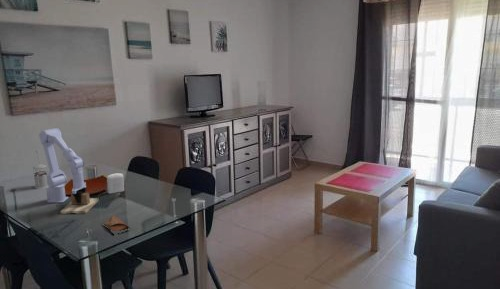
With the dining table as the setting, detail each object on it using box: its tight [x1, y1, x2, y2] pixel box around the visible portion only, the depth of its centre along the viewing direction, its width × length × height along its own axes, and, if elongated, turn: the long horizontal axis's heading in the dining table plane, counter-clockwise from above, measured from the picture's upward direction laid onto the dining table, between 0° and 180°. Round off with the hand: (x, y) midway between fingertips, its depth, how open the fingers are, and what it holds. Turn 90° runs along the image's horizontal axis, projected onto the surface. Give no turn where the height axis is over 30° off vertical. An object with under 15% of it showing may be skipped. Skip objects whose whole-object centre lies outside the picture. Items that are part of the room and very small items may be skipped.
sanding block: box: [70, 192, 91, 205], centre depth 221 cm, size 9×4×6 cm, turn 91°
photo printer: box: [106, 172, 125, 194], centre depth 244 cm, size 10×4×12 cm, turn 123°
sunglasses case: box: [102, 214, 130, 231], centre depth 195 cm, size 18×7×7 cm, turn 42°
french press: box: [32, 150, 49, 190], centre depth 253 cm, size 10×12×25 cm
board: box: [59, 197, 99, 215], centre depth 221 cm, size 14×19×2 cm
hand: (80, 201), depth 222 cm, fingers closed on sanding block, 4 cm apart
